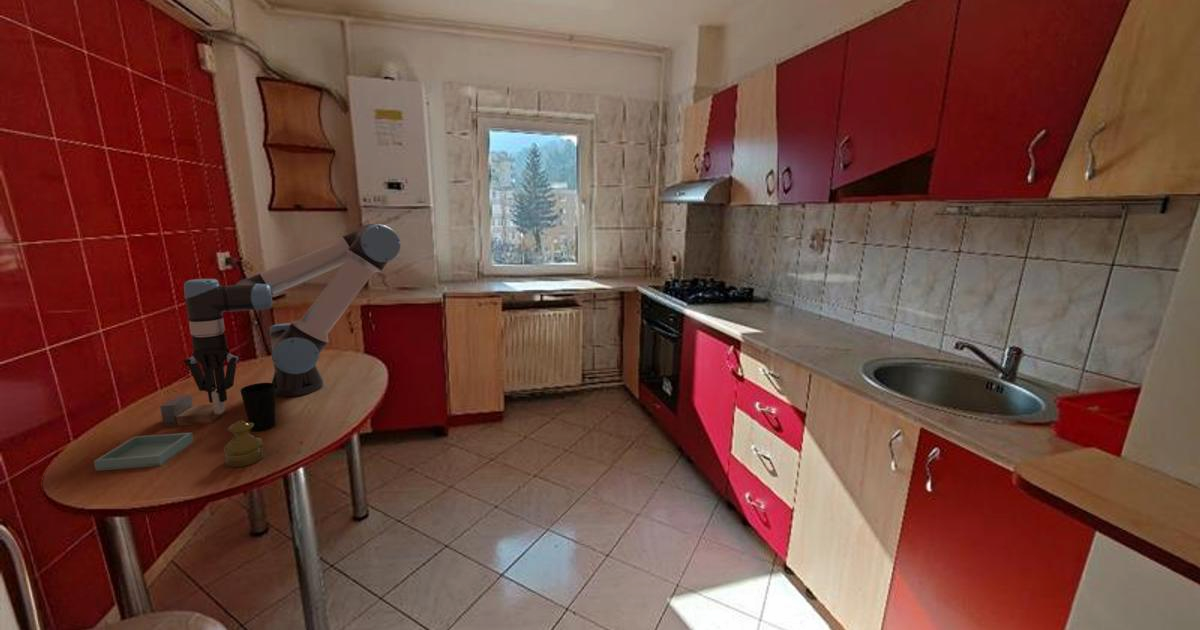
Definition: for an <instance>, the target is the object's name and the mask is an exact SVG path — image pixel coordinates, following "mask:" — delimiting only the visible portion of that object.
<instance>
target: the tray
mask: <svg viewBox="0 0 1200 630" xmlns="http://www.w3.org/2000/svg"><path fill="white" fill-rule="evenodd" d="M193 442H194V436H193V432H181V433H180V432H179V433H167V434H166V433H164V434H152V435H137V436H135V435H134V436H133V437H131V438H129V439H128V440H126V441H124V442H123V443H121V444H119V445H118V446H116V447H115V448H113V449H111V450H110V451H108V452H107V453H105V454H103V455H101V456H99V457H98V458H96V459H95V460H93V466H94V468H95V472H101V471H113V470H125V469H135V468H137V469H138V468H150V467H151V468H152V467H161V466H162V465H164V464H165V463H166V462H167V461H169V460H171V459H172V458H173V457H174V456H176V455H178V453H180V452H181V451H183V450H184V449H186V448H187V447H188V446H189V445H191V444H192V443H193Z"/></svg>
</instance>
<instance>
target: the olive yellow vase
mask: <svg viewBox="0 0 1200 630" xmlns="http://www.w3.org/2000/svg"><path fill="white" fill-rule="evenodd" d="M253 426H254V424H253V422H250V421H248V420H243V419H242V420H237V421H236V422H234V423H232V424H231V425H229V426H228V427H227V431H228V432H229V433H233V434H234V436H233V438H232V439H231V440H230V441H229V442H227V443H226V444H225V446H224V447H223V451H224V453H225V456H224V458H225V463H226V466H228V467H231V468H241V467H246V466H249V465H253V464H256V463H257V462H259V461H260V460H262V459H263V458H264V456H265V454H264V446H262V445H263V439H262V438H261V437H260V436H256V435H254V434H251V433H250V432H249V431H251V428H252V427H253Z"/></svg>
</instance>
